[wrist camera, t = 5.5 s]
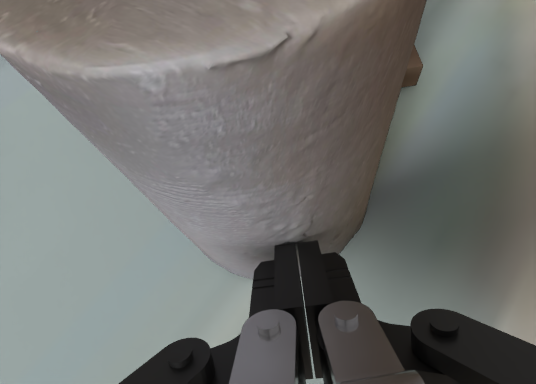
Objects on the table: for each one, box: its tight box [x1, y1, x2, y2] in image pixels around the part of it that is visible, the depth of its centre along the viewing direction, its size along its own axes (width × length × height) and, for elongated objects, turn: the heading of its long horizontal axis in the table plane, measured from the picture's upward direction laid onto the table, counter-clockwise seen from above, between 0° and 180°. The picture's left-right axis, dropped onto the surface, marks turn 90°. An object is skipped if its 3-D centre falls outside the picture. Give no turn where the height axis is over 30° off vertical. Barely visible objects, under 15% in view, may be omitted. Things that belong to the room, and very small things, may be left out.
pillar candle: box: [0, 0, 426, 279], centre depth 12 cm, size 10×10×15 cm
